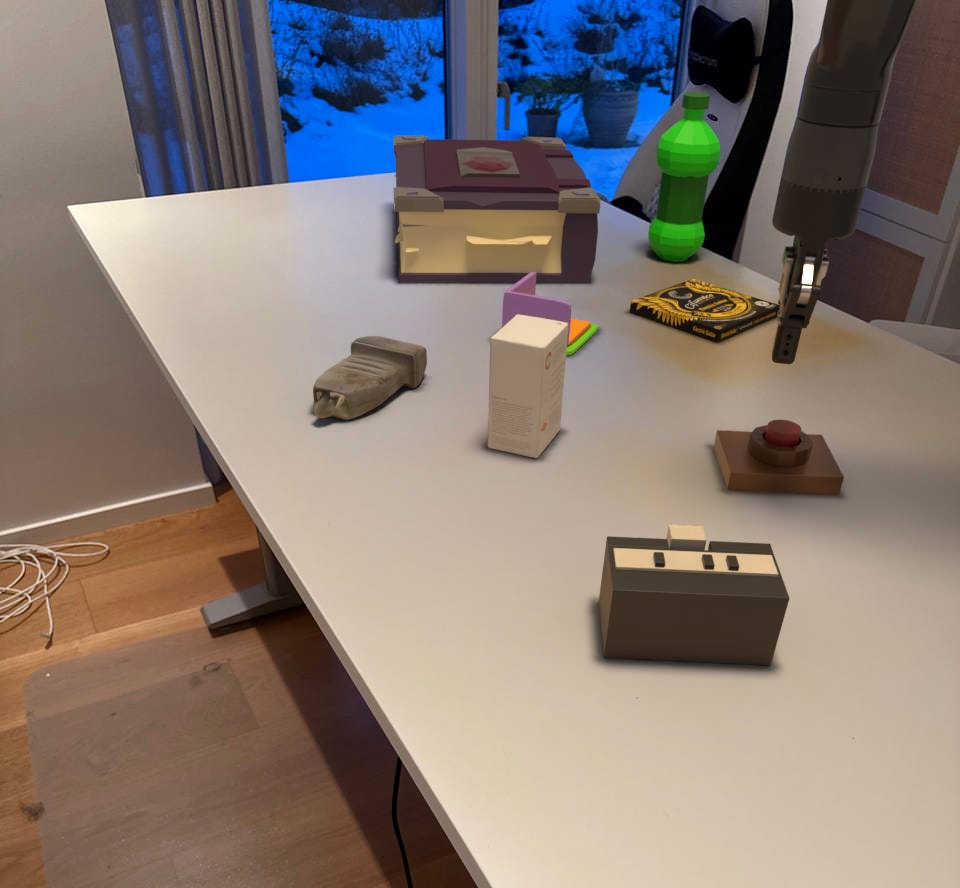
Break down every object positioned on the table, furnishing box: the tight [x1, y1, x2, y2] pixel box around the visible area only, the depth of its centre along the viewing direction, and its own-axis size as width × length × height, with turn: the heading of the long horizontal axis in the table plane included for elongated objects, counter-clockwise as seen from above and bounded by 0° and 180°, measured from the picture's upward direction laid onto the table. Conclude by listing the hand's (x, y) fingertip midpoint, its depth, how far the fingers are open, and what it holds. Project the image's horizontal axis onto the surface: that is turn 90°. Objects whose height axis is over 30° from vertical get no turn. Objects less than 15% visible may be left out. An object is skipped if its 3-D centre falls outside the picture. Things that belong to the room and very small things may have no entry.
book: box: [393, 135, 601, 284], centre depth 166 cm, size 33×45×14 cm
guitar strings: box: [629, 278, 780, 344], centre depth 144 cm, size 16×2×16 cm
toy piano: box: [598, 535, 790, 666], centre depth 81 cm, size 14×8×8 cm, turn 87°
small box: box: [487, 314, 568, 459], centre depth 107 cm, size 8×6×13 cm
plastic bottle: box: [648, 91, 722, 263], centre depth 159 cm, size 10×10×25 cm
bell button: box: [764, 419, 802, 447], centre depth 104 cm, size 4×4×2 cm
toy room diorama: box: [501, 272, 599, 356], centre depth 135 cm, size 12×12×7 cm
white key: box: [665, 524, 707, 550], centre depth 83 cm, size 3×2×2 cm
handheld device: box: [312, 335, 428, 421], centre depth 118 cm, size 10×20×5 cm, turn 154°
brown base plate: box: [713, 424, 845, 496], centre depth 105 cm, size 12×10×4 cm
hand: (782, 360), depth 97 cm, fingers closed
